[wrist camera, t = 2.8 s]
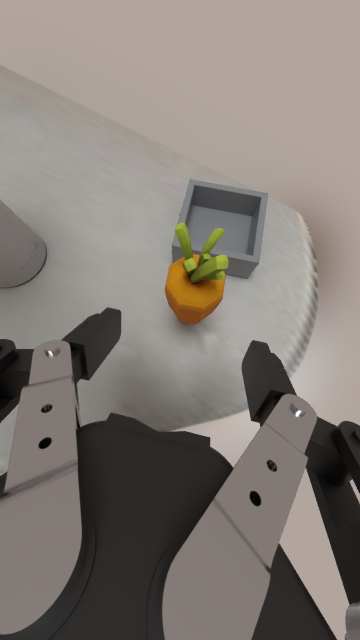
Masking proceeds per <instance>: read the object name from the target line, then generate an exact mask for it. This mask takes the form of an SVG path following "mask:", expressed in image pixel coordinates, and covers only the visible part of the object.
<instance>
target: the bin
mask: <svg viewBox="0 0 360 640" xmlns="http://www.w3.org/2000/svg"><path fill="white" fill-rule="evenodd" d="M267 198H268V193H263V192H257V191H252V190H246V189H241V188H235V187H230V186H224V185H219V184H213V183H208V182H202V181H197V180H191V179H190V181H189V185H188V188H187V192H186V196H185V199H184V203H183V207H182V210H181V214H180V218H179V222H178V224H180V223H184V222H185V224H186V227H187V229H188V232H189V236H190V240H191V246H192V252H193V254H196V255H200V253H201V251H202V249H203V247H204V245H205V243H206V241H207V239H208V238H209V236H210V235H211V234H212V232H213V231H214V230H215V229H216V228H222V229H223V230H224V231H225V232H224V233H223V235H222V236H221V238H220V239H219V240H218V242H217V243H216V244H215V246H214V247H213V249H212V250H211V252H210V253H209V255H210V257H212V258H214V257H215V256H219V255H227V258H228V261H229V262H228V268H227V269H225V270H223V272H224V273H225V274H227V275H232V276H237V277H241V278H246V279H247V278H248V277H249V275H250V274H251V273H252V272H253V270H254V269H255V268H256V266H257V265H258V264H259V259H260V252H261V244H262V236H263V229H264V221H265V214H266V206H267ZM172 255H173V263H174V262H176V261H177V260H179V259H181V258H182V257H184V255H183V252H182V249H181V246H180V243H179V241H178V238H177V235H176V233H175V236H174V240H173V244H172Z"/></svg>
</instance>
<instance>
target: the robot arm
mask: <svg viewBox="0 0 360 640" xmlns="http://www.w3.org/2000/svg"><path fill="white" fill-rule="evenodd" d="M45 258H46V248H45V245H44V242H43V241H42V239H41V238H40V237H39V236H38V235H37V234H36V233H35V232H34V231H33V230H32V229H31V228H30V227H29V226H27V225H26V224H25V223H24V222H23V221H22V220H21V219H20V218H19V217H18V216H17V215H16V214H15V213H14V212H13V211H12V210H11V209H10V208H9V207H8V206H6V205H5V204H4V203H3V202H2V201H1V200H0V287H13V286H17V285H20V284H23V283H25V282H26V281H28V280H30V279H31V278H32V277H34V276H35V275H36V274H37V273H38V271H39V270H40V269H41V267H42V265H43V264H44V261H45ZM120 336H121V311H120V310H117V309H112V308H106V309H105V310H104V311H103V312H102V313H100V314H98V313H97V314H95V315H92V316H90V317H88V318H87V319H86V320H85V321H83V323H81V324H80V325H79V326H78V327H76V328H75V329H74V330H73V331H71V332H70V333H69V334H68V335H67V336H65V337H64V338H63V339H62V340H53V341H48V342H45V343H43V344H41V345H39V346H38V347H36V349H16V346H15V344H14V342H13V341H11V340H7V339H0V423H1V422H2V420H3V419H4V418H5V417H6V416H7V415H8V414H9V413H10V412H11V411H12V410H13V409H14V408H15V407H16V406H17V405H18V403H19V408H18V414H17V420H16V426H15V432H14V438H13V443H12V449H11V455H10V461H9V467H8V472H6V473H4V474H3V475H1V476H0V640H337V639H336V637H335V635H334V634H333V632H332V631H331V629H330V627H329V625H328V624H327V622H326V620H325V619H324V617H323V615H322V614H321V612H320V611H319V609H318V607H317V606H316V604H315V602H314V600H313V599H312V597H311V595H310V594H309V592H308V590H307V589H306V587H305V586H304V584H303V582H302V581H301V579H300V577H299V575H298V574H297V572H296V570H295V569H294V567H293V566H292V564H291V562H290V560H289V559H288V557H287V555H286V554H285V552H284V551H283V549H282V547H281V546H280V544H279V541H280V538H281V535H282V532H283V529H284V526H285V524H286V521H287V518H288V515H289V512H290V509H291V507H292V504H293V501H294V498H295V495H296V492H297V489H298V487H299V484H300V481H301V478H302V475H303V473H304V469H305V467H306V469H307V472H308V475H309V478H310V482H311V484H312V488H313V491H314V494H315V497H316V501H317V504H318V507H319V510H320V513H321V516H322V519H323V523H324V526H325V529H326V532H327V535H328V538H329V541H330V545H331V548H332V551H333V554H334V557H335V560H336V564H337V567H338V570H339V573H340V576H341V579H342V582H343V585H344V589H345V592H346V595H347V598H348V601H349V604H350V605H349V607H348V609H347V611H346V631H347V633H346V635H345V640H360V504H359V501H358V499H357V497H356V495H355V493H354V491H353V488H352V486H351V484H350V482H349V481H351V480H352V479H353V481H354V483H355V485H356V487H357V489H358V491H359V493H360V426H359V425H357V424H355V423H353V422H349V421H343V422H341V423H340V424H339V425H338V426H335V425H333V424H331V423H329V422H327V421H325V420H323V419H321V418H319V417H317V415H316V413H315V411H314V409H313V408H312V407H311V406H310V405H309V404H308V403H307V402H306V401H305V400H303V399H302V398H300V397H298V396H297V395H296V393H295V390H294V388H293V386H292V384H291V382H290V380H289V377H288V375H287V373H286V371H285V369H284V367H283V364H282V362H281V360H280V359H279V358H278V357H277V356H276V355H275V354H274V353H271V352H270V349H269V347H268V345H267V343H264V342H259V341H255V340H253V341H252V342H251V343H250V346H249V348H248V350H247V352H246V354H245V357H244V359H243V362H242V374H243V379H244V385H245V390H246V396H247V401H248V407H249V412H250V417H251V421H254V422H258V423H260V427H261V428H260V430H259V431H258V432H257V434H256V435H255V437H254V438H253V440H252V441H251V443H250V444H249V446H248V447H247V449H246V450H245V452H244V453H243V454H242V456H241V457H240V459H239V460H238V462H237V464H236V465H235V467H234V468H233V467H232V465H231V464H230V463H229V462H228V461H227V460H226V459H225V458H224V457H223V456H222V455H221V454H220V453H219V452H217V451H216V450H215V449H213V448H212V447H210V437H206V436H202V435H198V434H194V433H190V432H186V431H178V432H158V431H155V430H154V429H152V428H150V427H148V426H147V425H145V424H143V423H141V422H140V421H138V420H136V419H134V418H130V417H126V416H122V415H118V414H114V413H110V415H109V417H108V419H107V421H97V422H93V423H89V424H87V425H84V426H82V425H81V418H80V408H79V398H78V388H77V383H78V381H79V380H80V379H84V380H88V381H89V380H90V378H91V377H92V376H93V374H94V373H95V372H96V370H97V369H98V368H99V366H100V365H101V363H102V362H103V361H104V359H105V358H106V357H107V355H108V354H109V353H110V351H111V350H112V349H113V347H114V346H115V345H116V343H117V342H118V340H119V338H120Z"/></svg>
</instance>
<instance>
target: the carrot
mask: <svg viewBox="0 0 360 640" xmlns="http://www.w3.org/2000/svg"><path fill="white" fill-rule="evenodd" d="M175 232H176V235H177V238H178V241H179V243H180V246H181V249H182V252H183V255H184V257H182V258H181V259H179V260H177V261H176V262H174V263H173V264H171V265H170V267H169V271H168V276H167V281H166V285H165V293H166V297H167V301H168V304H169V306H170V307H171V309H172V310H173V311H174V313H175V314H176V316H177V317H178V318H179V320H180V321H181V322H184V323H190V324H196V323H198V322H199V321H200V320H202V319H203V318H205V317H206V316H208V315H209V314H211V313H212V312H213V311H214V310H215V309H216V307H217V306H218V305H219V303H220V302H221V301H222V298H223V292H224V284H225V277H226V275H225V273H224V272H223V270H225V269H227V268H228V262H229V261H228V258H227V255H219V256H215V257H214V258H212V257H210V255H209V253H210V252H211V250H212V249H213V247H214V246H215V244H216V243H217V242H218V240H219V239H220V238H221V236H222V235H223V233H224V232H225V231H224V230H223V229H222V228H216V229H215V230H214V231H213V232H212V234H211V235H210V236H209V238H208V239H207V241H206V243H205V245H204V247H203V249H202V251H201V253H200V255H196V254H193V252H192V246H191V240H190V236H189V232H188V229H187V227H186V224H185V222H184V223H180V224H178V225H177V226H176V227H175Z"/></svg>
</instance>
